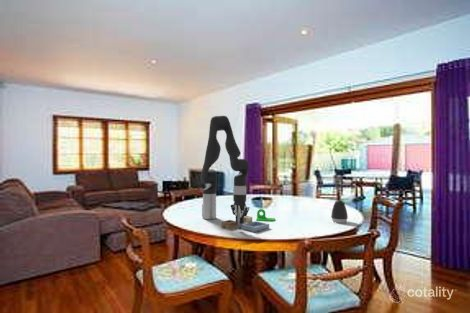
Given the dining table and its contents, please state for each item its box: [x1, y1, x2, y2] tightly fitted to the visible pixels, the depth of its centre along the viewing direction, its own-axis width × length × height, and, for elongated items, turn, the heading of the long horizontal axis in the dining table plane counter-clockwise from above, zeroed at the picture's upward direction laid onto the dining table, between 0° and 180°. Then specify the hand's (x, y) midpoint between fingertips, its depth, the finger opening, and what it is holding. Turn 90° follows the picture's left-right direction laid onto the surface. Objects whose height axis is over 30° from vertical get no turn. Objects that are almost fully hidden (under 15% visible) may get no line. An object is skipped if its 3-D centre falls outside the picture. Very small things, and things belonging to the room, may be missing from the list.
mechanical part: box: [256, 208, 276, 222], centre depth 200 cm, size 12×6×8 cm, turn 78°
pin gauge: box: [236, 209, 242, 230], centre depth 171 cm, size 3×3×12 cm
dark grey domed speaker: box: [330, 199, 349, 224], centre depth 194 cm, size 10×10×15 cm
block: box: [242, 215, 253, 224], centre depth 185 cm, size 5×5×6 cm
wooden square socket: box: [221, 219, 237, 231], centre depth 180 cm, size 7×7×4 cm
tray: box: [241, 221, 270, 234], centre depth 177 cm, size 11×13×3 cm
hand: (239, 222), depth 171 cm, fingers closed on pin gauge, 2 cm apart
